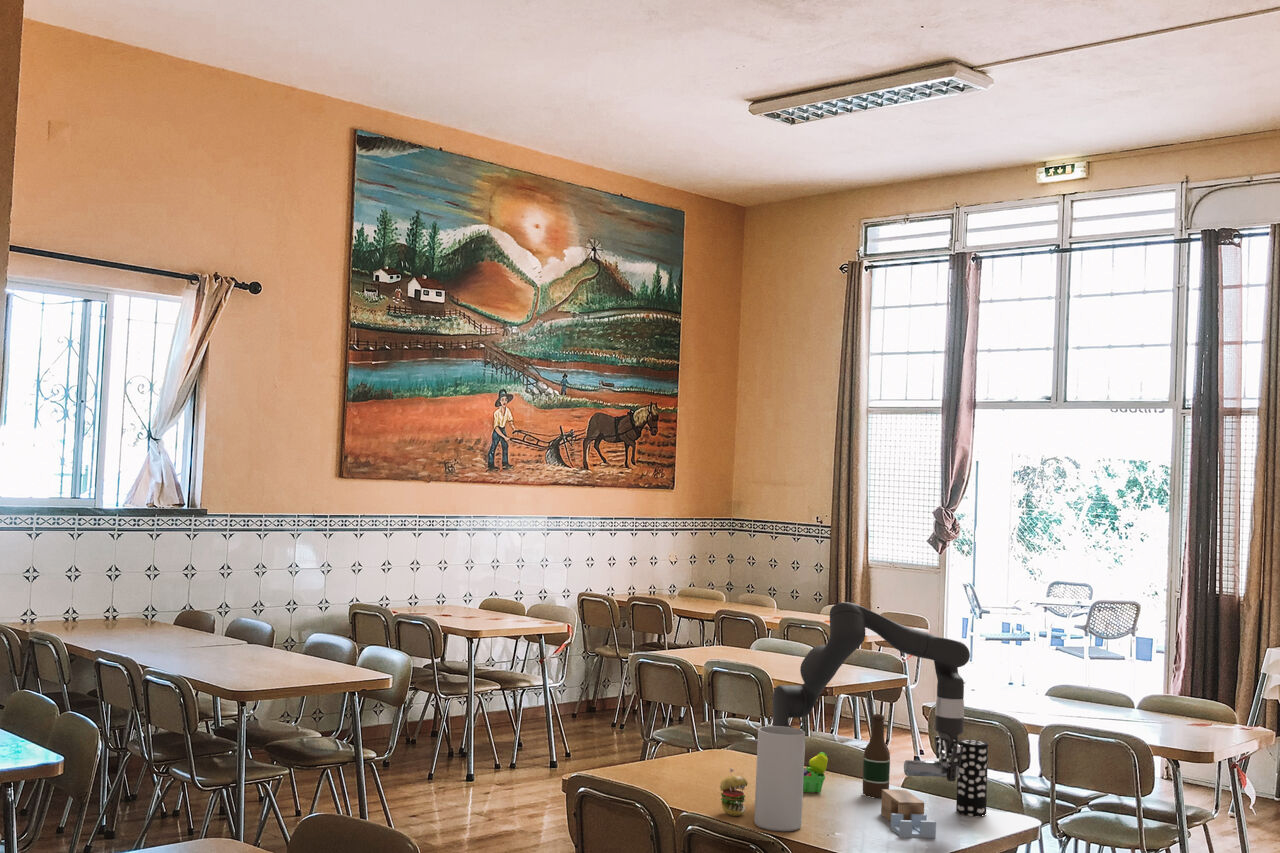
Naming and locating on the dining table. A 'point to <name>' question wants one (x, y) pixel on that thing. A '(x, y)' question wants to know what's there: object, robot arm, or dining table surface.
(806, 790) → the fruit basket
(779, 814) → the cylinder vase
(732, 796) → the hamburger
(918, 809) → the beam
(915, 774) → the axle
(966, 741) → the spotted tube
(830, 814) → the dining table surface
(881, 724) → the beer bottle
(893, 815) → the cradle
